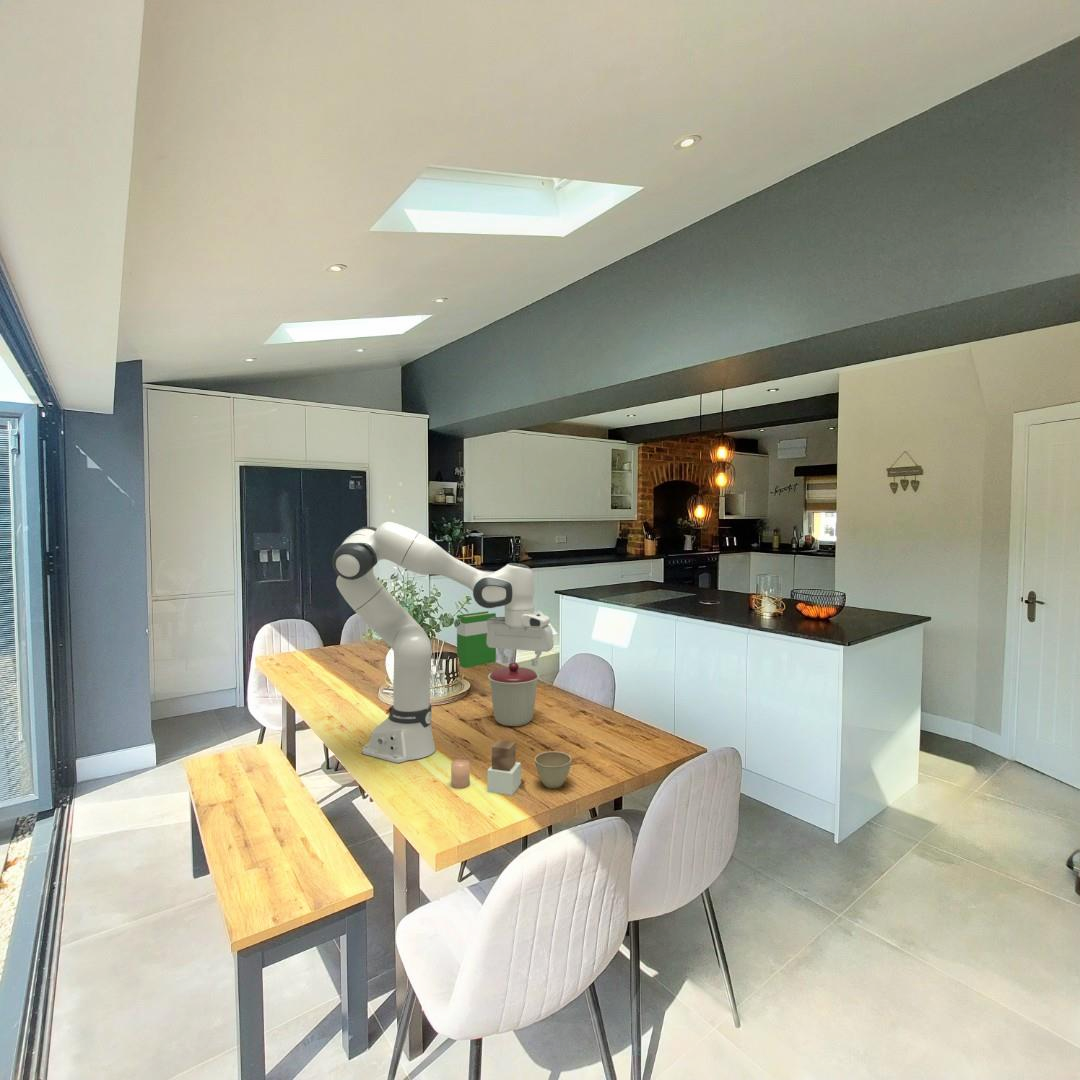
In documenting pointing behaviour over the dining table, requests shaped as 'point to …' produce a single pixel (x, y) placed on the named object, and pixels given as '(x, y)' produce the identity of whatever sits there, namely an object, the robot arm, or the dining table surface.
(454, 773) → the terracotta cylinder
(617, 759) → the dining table surface
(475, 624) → the hardback book
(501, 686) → the canister
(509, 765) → the walnut block
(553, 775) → the flower pot
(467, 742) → the dining table surface
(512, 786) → the grey block
